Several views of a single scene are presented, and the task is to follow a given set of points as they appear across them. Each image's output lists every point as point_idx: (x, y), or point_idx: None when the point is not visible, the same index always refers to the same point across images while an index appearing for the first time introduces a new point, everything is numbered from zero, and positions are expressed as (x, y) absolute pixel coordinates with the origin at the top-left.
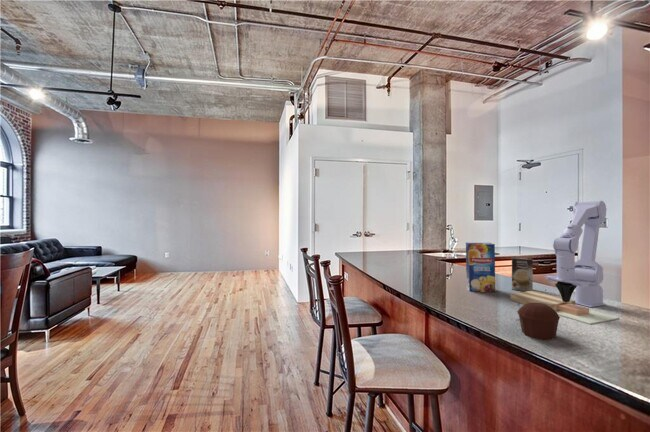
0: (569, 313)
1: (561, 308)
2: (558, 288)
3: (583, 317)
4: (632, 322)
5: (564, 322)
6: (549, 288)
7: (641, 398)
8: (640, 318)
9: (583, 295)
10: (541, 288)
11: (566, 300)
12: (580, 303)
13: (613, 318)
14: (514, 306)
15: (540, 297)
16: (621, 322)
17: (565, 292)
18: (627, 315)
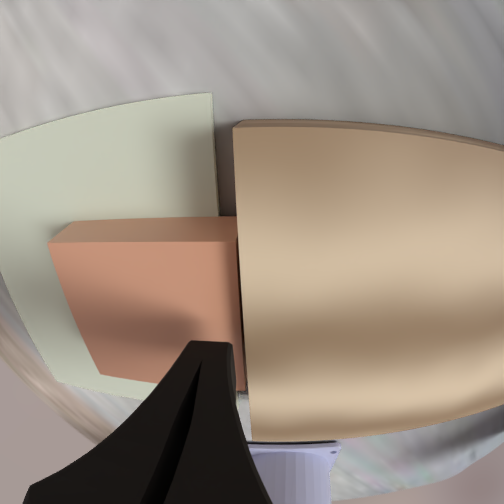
0: (125, 220)
1: (189, 228)
2: (242, 493)
3: (40, 228)
4: (23, 365)
5: (21, 11)
6: (463, 468)
7: None
8: (74, 424)
9: (269, 496)
10: (485, 453)
11: (182, 358)
12: (287, 451)
13: (40, 353)
14: (499, 3)
15: (476, 313)
16: (13, 333)
17: (133, 437)
18: (106, 431)
